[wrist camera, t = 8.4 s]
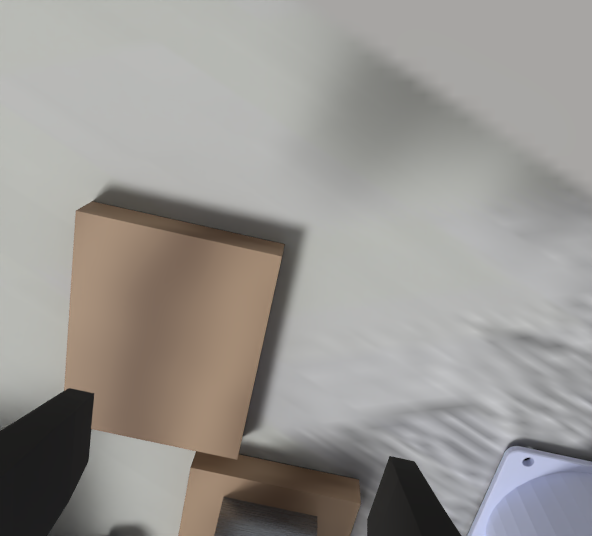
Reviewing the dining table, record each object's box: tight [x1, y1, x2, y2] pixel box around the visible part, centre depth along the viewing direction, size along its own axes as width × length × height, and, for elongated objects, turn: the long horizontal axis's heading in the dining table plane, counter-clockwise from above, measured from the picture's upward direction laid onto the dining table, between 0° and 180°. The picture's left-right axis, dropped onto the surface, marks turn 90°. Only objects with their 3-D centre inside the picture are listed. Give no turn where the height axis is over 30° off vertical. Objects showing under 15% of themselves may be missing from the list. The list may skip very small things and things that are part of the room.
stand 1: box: [64, 201, 285, 460], centre depth 23 cm, size 8×10×2 cm
